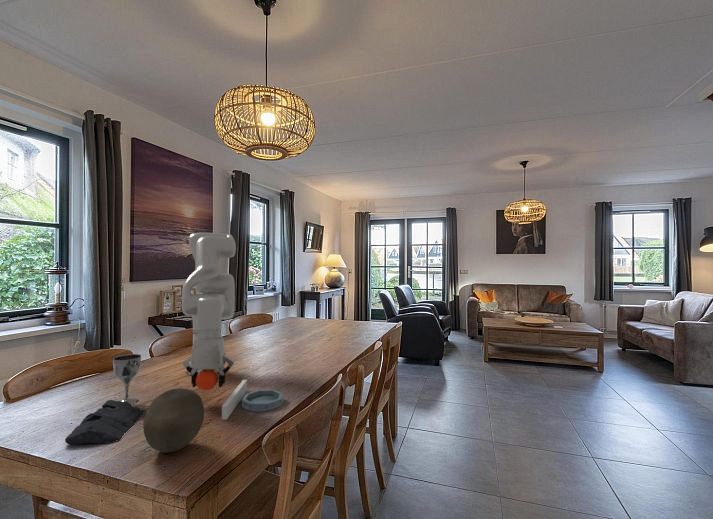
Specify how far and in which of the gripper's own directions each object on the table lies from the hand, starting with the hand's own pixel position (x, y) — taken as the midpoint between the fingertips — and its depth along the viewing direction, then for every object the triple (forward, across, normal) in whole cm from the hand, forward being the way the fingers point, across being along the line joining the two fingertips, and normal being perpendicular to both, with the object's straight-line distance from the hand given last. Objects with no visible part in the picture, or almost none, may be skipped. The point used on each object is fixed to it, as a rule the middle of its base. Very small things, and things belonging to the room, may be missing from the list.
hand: (208, 385), depth 117 cm
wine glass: (+6, -28, +2) cm, 28 cm away
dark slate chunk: (+6, -23, -16) cm, 29 cm away
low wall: (+6, +9, -1) cm, 11 cm away
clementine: (+2, 0, 0) cm, 2 cm away
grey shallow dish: (+6, +18, -1) cm, 19 cm away
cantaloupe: (+5, +2, -30) cm, 31 cm away
